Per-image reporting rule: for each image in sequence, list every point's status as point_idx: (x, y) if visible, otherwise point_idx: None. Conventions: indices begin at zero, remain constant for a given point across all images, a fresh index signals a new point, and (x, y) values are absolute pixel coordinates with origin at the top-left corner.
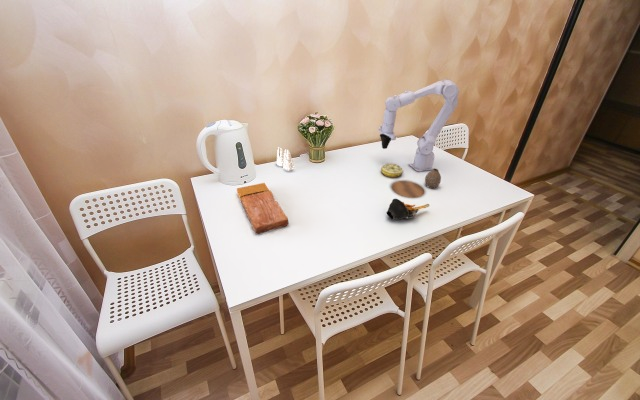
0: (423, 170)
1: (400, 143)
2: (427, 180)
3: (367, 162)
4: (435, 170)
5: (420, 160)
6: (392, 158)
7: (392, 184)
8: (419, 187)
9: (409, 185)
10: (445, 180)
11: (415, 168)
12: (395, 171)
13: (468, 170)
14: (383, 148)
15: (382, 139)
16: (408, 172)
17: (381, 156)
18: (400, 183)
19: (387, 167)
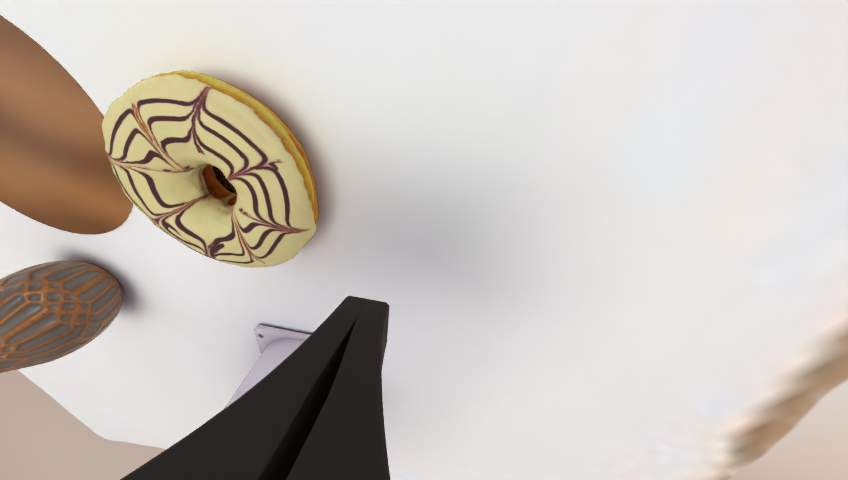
0: (262, 352)
1: (615, 461)
2: (12, 277)
3: (512, 86)
4: (8, 369)
5: (233, 398)
6: (469, 323)
7: (44, 52)
8: (59, 216)
9: (69, 176)
10: (171, 359)
11: (284, 337)
12: (113, 166)
13: None
14: (343, 300)
15: (293, 472)
16: (255, 282)
17: (541, 284)
18: (82, 133)
19: (181, 140)
